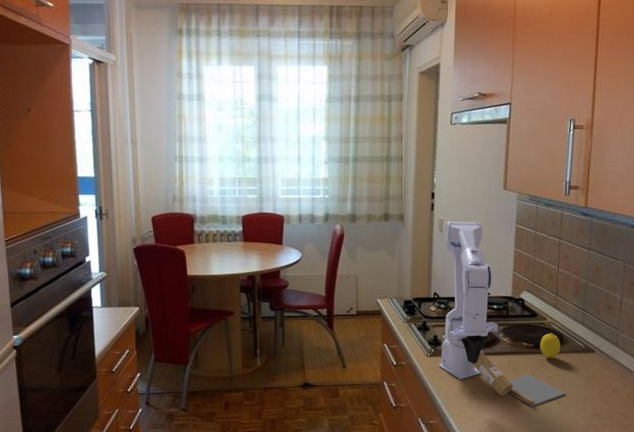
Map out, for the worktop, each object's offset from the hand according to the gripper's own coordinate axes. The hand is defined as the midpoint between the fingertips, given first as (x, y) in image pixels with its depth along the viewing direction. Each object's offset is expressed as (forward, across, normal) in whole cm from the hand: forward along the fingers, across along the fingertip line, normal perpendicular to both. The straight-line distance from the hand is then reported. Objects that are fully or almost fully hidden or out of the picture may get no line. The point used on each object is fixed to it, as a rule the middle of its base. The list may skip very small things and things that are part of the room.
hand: (472, 361), depth 133 cm
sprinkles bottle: (+9, +9, -4) cm, 13 cm away
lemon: (+10, +39, +7) cm, 41 cm away
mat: (+10, +18, -4) cm, 21 cm away
